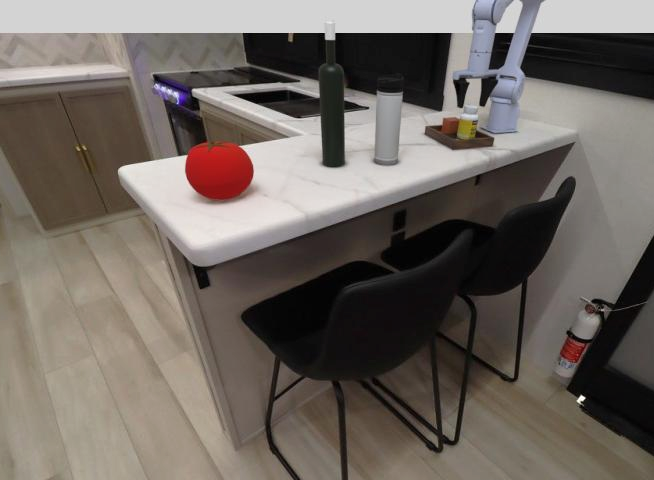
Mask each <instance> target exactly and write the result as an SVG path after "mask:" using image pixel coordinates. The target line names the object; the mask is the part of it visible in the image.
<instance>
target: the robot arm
mask: <svg viewBox="0 0 654 480" xmlns="http://www.w3.org/2000/svg"><path fill="white" fill-rule="evenodd" d="M514 1H515V0H475V1H474V3H473V7H472V9H471V19H472V24H471V31H472V37H471V43H470V44H471V45H470V48H469V49H470V50H469V55H468V60H467V61H468V62H467V69H461V70H460V69H459V70H452V77H451V78H452V84H453V87H454V90H455V91H454V92H455V95H456V96H455V97H456V108H458V109H464V106H465V102H466V101H465V100H466V96H467V92H468V88H469V86H470V82H469V81H468V80H474V79H475V80H477V79H478V80H480V94H479V102H478V107H482V108H485V107H486V105H487V104H488V100H489V101H490V102H491V103H490V108H489V112H488V117H487V123H486V125H482V126H480V128H481V129H483V130H485V131H488V132H490V133H492V134H503V133H515V132H517V131H518V130H517V125H518V120H519V117H520V113H521V105H520V103H519V102H518V101H519V100H520V99H521V98H522V95H523V92H524V89H525V88H524V87H525V82H526V75H525V73H524V71H523V70H522V69H521V66H522V63H523V60H524V57H525V54H526V50H527V48H528V45H529V41H530V38H531V36H532V32H533V29H534V26H535V24H536V20H537V17H538V14H539V11H540V8H541V5H542V3H544V2H545V1H546V0H519V2H521V4H522V5H521V10H520V13H519V16H518V20H517V23H516V26H515V30H514V32H513V36H512V38H511V43H510V45H509V49H508V52H507V55H506V59H505V61H504V65H502V66H501V67H499V68H498V69H489V68H490V62H491V57H492V52H493V46H494V41H495V37H496V36H495V35H496V30H497V27H498V24H499V23H500V22H501V21H502V18H503V16H504V13H506V9H507V8H508V7H509V6H510V5H512V4H513V2H514Z"/></svg>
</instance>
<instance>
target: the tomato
mask: <svg viewBox="0 0 654 480" xmlns="http://www.w3.org/2000/svg"><path fill="white" fill-rule="evenodd" d="M184 173H185V177H186V180H187V182H188V184H189V186H190V187H191V188H192V189H193V190H194V191H195V192H196V193H197V194H198V195H200V196H202V197H204V198H207V199H209V200H213V201H226V200H230V199H234V198H237V197H238V196H240V195H242V194H243V193H244V192H245V191H246V190H247V189H248V188H250V187H249V186H250V185H251V184H252V181H253V179H254V174H255V169H254V164H253V162H252V159H251V156H250V155H249V154H248V152H246V150H245V149H244V148H243V147H241V146H239V145H238V144H235V143H233V142H230V141H214V140H211V141H209V140H206V142H202V143H199V144H197V145H195V146H192V147H191V149H190V150H189V151H188V152H187V155H186V159H185V163H184Z"/></svg>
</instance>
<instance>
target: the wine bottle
mask: <svg viewBox="0 0 654 480" xmlns="http://www.w3.org/2000/svg"><path fill="white" fill-rule="evenodd" d="M324 40H325V56H326V57H325V58H326V59H325V61H326V63H323V64H322V65H320V66H319V68H318V92H319V112H320V114H319V115H320V130H321V132H320V134H321V136H320V137H321V155H322V157H321V158H322V165H323V166H324V167H327V168H340V167H343V166H345V165H346V135H345V134H346V133H345V128H346V127H345V123H346V121H345V71H344V69H343V66H342V65H340V64H338V63H336V23H335V20H333V19H326V20H325V22H324Z"/></svg>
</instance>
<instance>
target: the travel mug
mask: <svg viewBox="0 0 654 480" xmlns="http://www.w3.org/2000/svg"><path fill="white" fill-rule="evenodd" d="M404 77H405V76H403V74H402V73H394V74H386V75H381V76H378V77H377V82H376V83H377V85H376V86H377V88H376V104H375V131H374V132H375V133H374V157H373V158H374V159H373V160H374V162H375V163H376V164H378V165H382V166H393V165H396V164H398V161H399V149H400V136H401V135H400V134H401V123H402V122H401V121H402V109H403V108H402V107H403V98H404V97H403V96H404V95H403V94H404V88H403V87H404V80H405V78H404Z"/></svg>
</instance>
